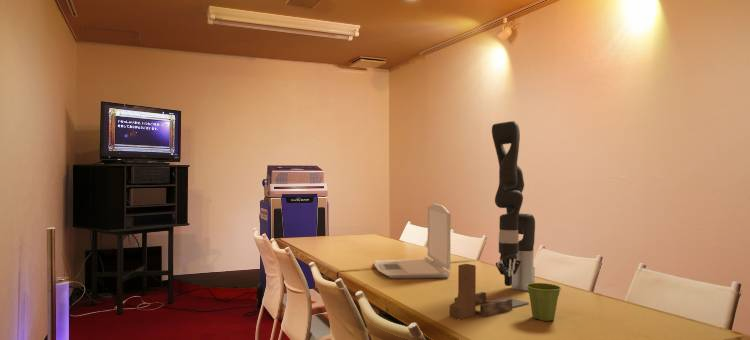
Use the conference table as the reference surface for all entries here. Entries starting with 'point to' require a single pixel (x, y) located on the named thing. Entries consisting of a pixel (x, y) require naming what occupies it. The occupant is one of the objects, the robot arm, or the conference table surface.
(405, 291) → the conference table surface
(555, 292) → the plant pot
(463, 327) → the conference table surface
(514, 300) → the pad
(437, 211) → the laptop
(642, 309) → the conference table surface
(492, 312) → the wooden frame
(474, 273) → the wooden block
